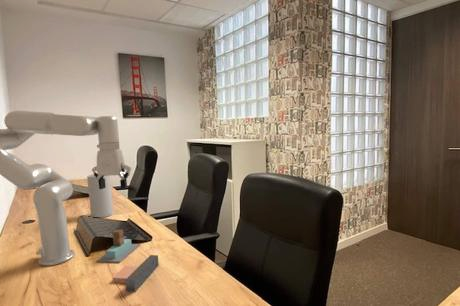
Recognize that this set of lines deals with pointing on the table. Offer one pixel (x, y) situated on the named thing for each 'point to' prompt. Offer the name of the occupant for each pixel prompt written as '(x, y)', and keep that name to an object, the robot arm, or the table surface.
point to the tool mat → (120, 257)
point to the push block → (118, 245)
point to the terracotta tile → (124, 274)
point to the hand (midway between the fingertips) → (113, 188)
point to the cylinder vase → (100, 197)
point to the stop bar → (141, 273)
